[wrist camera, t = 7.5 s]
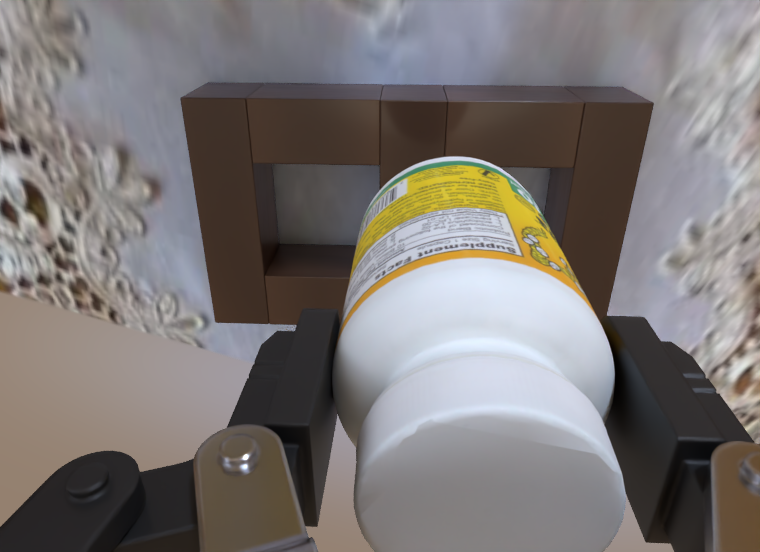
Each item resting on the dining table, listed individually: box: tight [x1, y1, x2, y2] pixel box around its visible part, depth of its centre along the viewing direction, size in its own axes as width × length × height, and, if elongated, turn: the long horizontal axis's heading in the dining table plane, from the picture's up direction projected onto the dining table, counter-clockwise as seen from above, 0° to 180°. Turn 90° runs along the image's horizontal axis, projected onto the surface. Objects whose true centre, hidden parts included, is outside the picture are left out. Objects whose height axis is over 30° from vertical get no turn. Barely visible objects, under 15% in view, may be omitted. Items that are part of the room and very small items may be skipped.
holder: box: [181, 83, 654, 325], centre depth 30 cm, size 21×12×4 cm, turn 90°
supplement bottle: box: [332, 157, 626, 552], centre depth 13 cm, size 5×5×10 cm
